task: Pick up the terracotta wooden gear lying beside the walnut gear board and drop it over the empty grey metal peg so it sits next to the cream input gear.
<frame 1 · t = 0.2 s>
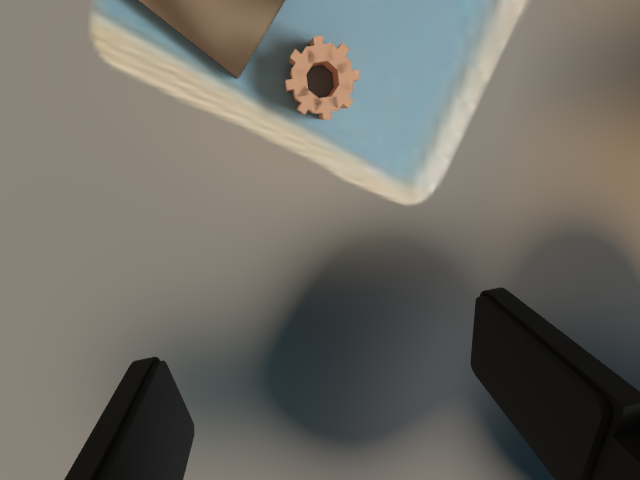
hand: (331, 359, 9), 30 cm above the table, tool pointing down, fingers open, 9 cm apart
terracotta gear: (318, 82, 33), on the table
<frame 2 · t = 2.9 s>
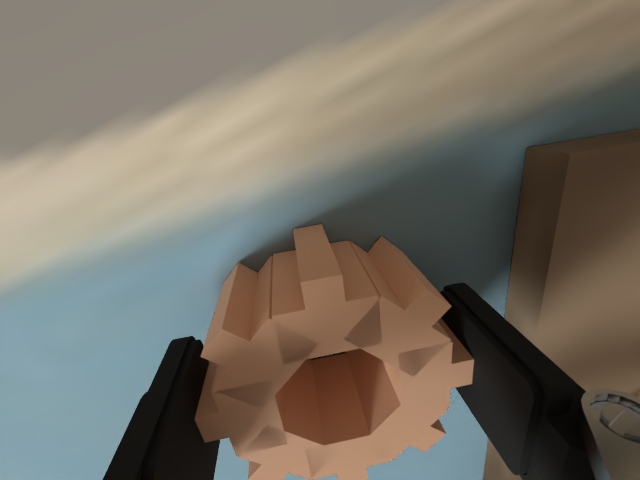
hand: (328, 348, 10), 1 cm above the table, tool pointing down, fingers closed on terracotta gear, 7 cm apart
terracotta gear: (323, 322, 11), on the table, touching gripper
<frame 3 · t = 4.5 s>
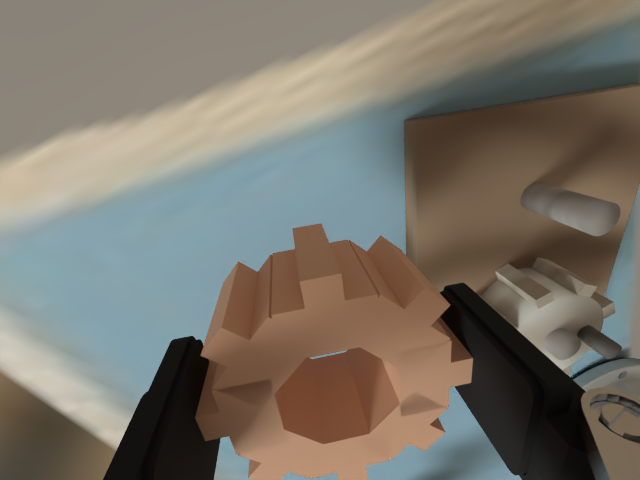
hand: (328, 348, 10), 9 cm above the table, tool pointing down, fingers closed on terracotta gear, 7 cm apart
terracotta gear: (323, 322, 11), point 8 cm above the table, touching gripper
gear board: (506, 247, 20), on the table
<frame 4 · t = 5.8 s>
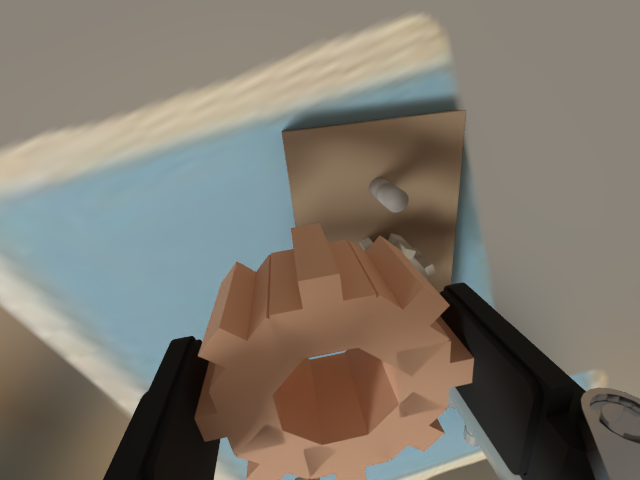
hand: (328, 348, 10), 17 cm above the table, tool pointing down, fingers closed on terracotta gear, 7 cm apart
terracotta gear: (321, 322, 11), point 16 cm above the table, touching gripper
gear board: (374, 226, 27), on the table
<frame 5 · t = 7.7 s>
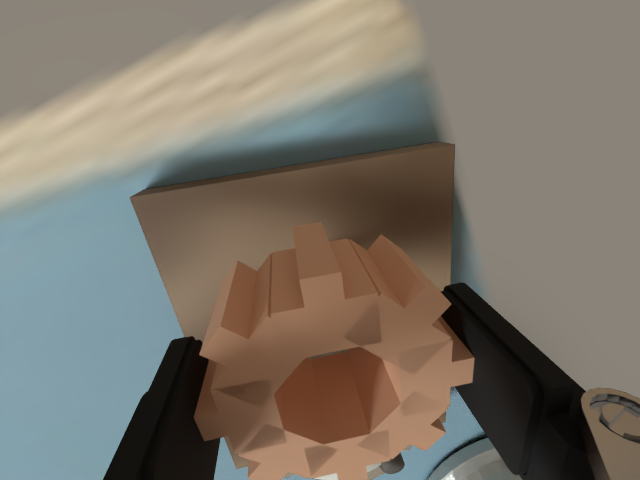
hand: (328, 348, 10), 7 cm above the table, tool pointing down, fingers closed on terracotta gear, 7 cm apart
terracotta gear: (323, 321, 11), point 6 cm above the table, touching gripper
gear board: (321, 319, 18), on the table
when the fingers open (4 cm above the table, at t = 8.9 s): terracotta gear stays where it is, resting on gear board.
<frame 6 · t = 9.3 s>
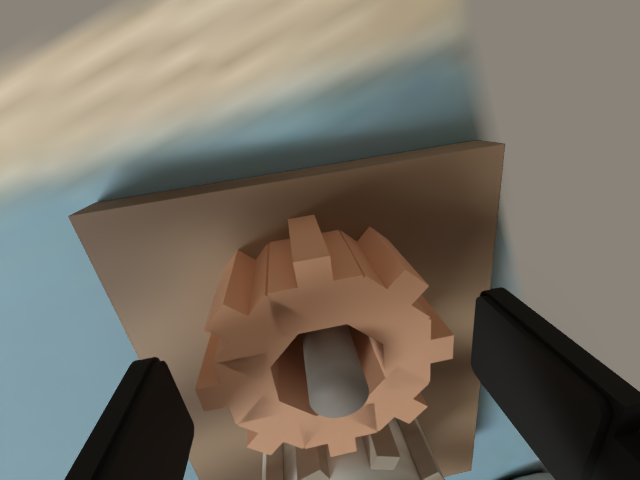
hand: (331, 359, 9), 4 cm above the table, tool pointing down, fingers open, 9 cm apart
terracotta gear: (316, 307, 12), point 1 cm above the table, touching gear board
gear board: (326, 357, 15), on the table
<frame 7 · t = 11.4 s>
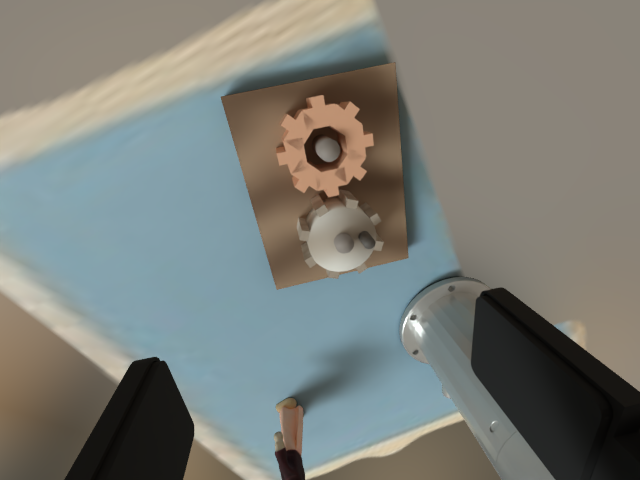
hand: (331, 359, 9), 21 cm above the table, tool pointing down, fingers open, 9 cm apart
grandmother figurine: (288, 406, 40), on the table
terracotta gear: (319, 144, 26), point 1 cm above the table, touching gear board
gear board: (326, 185, 29), on the table
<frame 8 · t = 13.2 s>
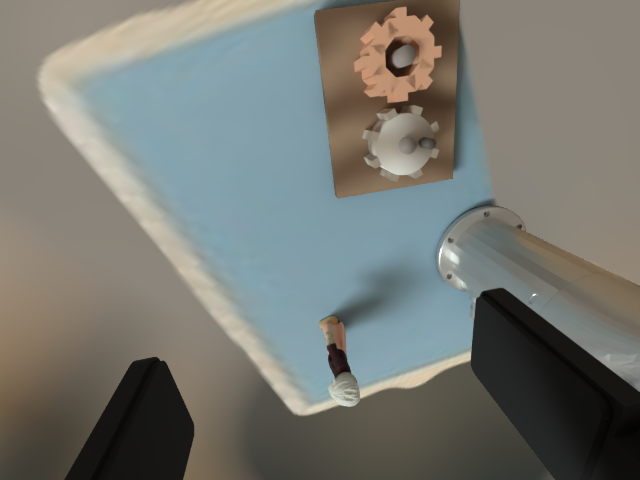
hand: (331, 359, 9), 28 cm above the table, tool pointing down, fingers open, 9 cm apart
grandmother figurine: (330, 324, 44), on the table
terracotta gear: (390, 62, 30), point 1 cm above the table, touching gear board
gear board: (388, 105, 33), on the table
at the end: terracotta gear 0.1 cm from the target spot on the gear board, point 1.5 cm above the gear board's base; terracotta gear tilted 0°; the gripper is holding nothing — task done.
